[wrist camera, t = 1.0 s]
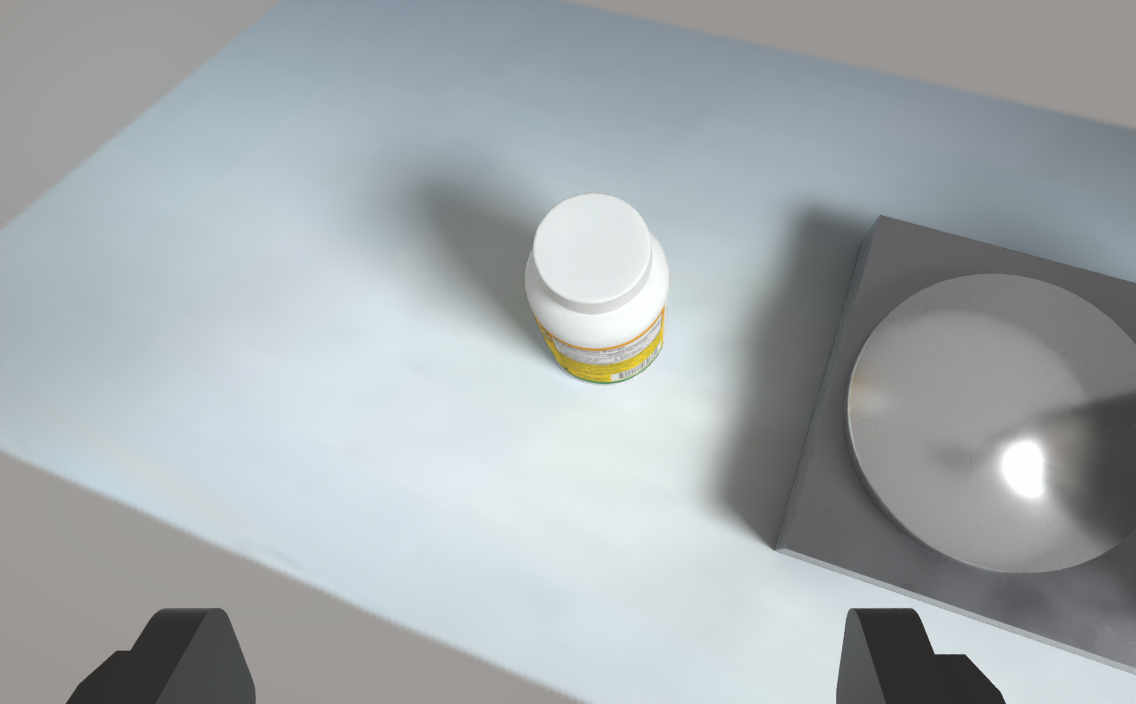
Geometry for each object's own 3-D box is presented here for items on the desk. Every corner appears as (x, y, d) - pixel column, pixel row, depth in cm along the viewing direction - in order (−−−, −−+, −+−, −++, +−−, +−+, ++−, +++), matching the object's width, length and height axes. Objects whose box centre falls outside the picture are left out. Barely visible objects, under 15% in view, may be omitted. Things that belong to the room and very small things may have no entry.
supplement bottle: (650, 400, 36) (651, 341, 27) (531, 372, 37) (492, 306, 27) (678, 285, 37) (687, 190, 28) (562, 260, 38) (534, 160, 29)
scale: (1279, 357, 34) (1566, 260, 23) (1223, 704, 31) (1522, 773, 20) (861, 242, 37) (947, 110, 26) (774, 550, 34) (830, 541, 23)
